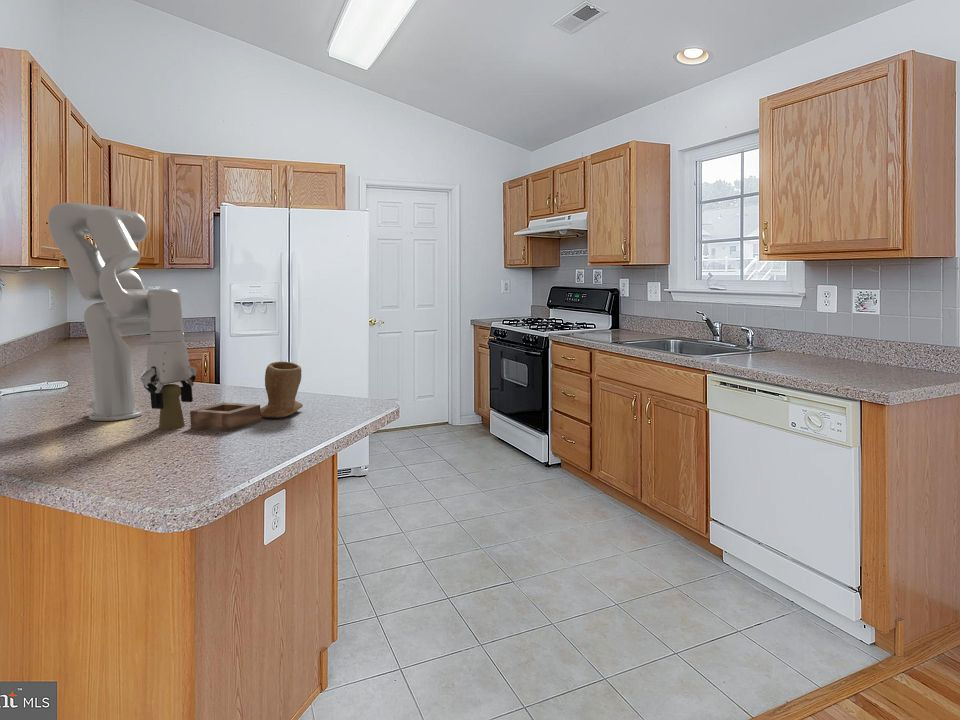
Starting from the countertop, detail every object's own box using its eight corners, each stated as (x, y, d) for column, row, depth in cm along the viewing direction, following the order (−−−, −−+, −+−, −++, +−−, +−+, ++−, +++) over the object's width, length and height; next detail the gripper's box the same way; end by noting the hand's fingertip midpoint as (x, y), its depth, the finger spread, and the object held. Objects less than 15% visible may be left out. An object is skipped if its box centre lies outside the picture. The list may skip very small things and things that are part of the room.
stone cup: (292, 421, 165) (290, 365, 163) (250, 420, 166) (248, 365, 164) (313, 410, 180) (312, 359, 178) (274, 409, 181) (272, 358, 179)
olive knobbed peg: (174, 429, 155) (171, 386, 154) (153, 428, 156) (150, 386, 155) (190, 424, 161) (187, 383, 159) (169, 423, 162) (167, 382, 161)
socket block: (190, 428, 157) (189, 410, 156) (223, 418, 168) (222, 402, 167) (230, 431, 153) (229, 413, 152) (261, 421, 164) (260, 404, 164)
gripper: (181, 336, 165) (186, 399, 167) (126, 341, 148) (133, 410, 150) (204, 335, 163) (209, 399, 164) (151, 340, 146) (157, 411, 148)
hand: (172, 405), depth 157 cm, fingers open, 9 cm apart
